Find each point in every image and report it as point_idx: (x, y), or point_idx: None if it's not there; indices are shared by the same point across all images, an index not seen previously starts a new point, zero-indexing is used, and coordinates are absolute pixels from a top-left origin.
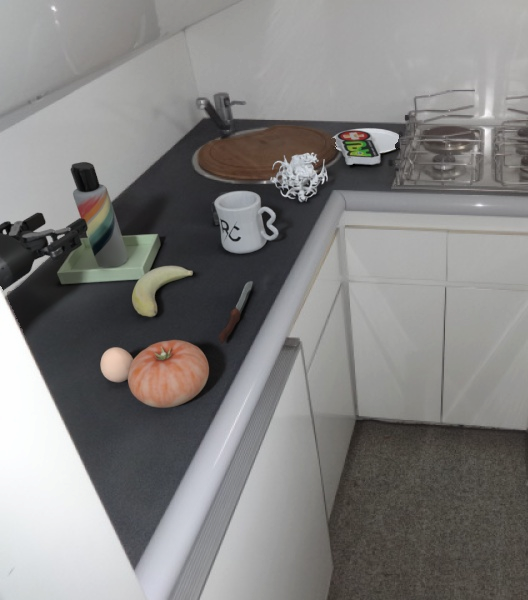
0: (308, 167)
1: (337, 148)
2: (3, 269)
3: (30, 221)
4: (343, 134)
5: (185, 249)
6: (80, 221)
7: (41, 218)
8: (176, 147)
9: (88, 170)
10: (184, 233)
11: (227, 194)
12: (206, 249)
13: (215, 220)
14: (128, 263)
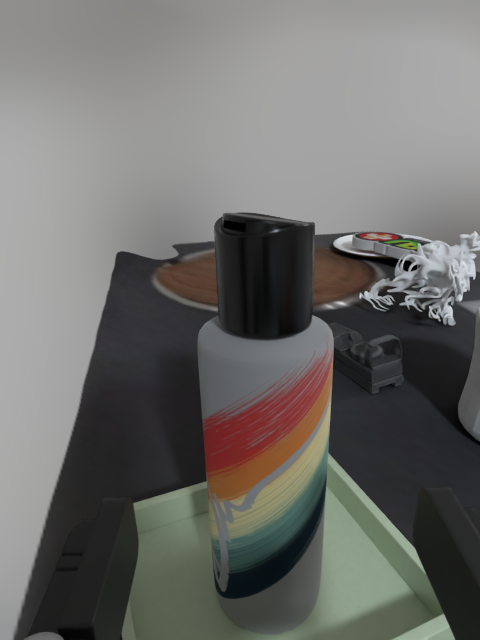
0: (472, 258)
1: (366, 254)
2: None
3: (106, 600)
4: (361, 236)
5: (405, 477)
6: (465, 515)
7: (130, 532)
8: (113, 280)
9: (312, 231)
10: (334, 428)
11: None
12: (456, 465)
13: (375, 384)
14: (328, 581)
